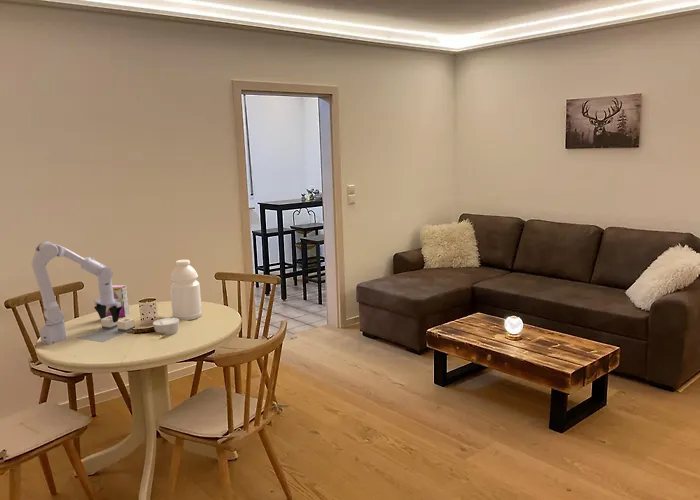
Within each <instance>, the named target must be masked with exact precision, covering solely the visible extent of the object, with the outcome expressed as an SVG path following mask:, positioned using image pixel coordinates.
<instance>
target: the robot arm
mask: <svg viewBox="0 0 700 500" xmlns="http://www.w3.org/2000/svg"><path fill="white" fill-rule="evenodd" d="M56 257H57V258H61V257H64V258H67V259H69V260H71V261H73V262H74V263H77V264H79V265H80V269H82V270H84V271H85V272H87V273H89V274H92V275H94V276H96V277H97V279H98V281H97V282H98V283H97V285H98V293H99V299H95V300H94V301H93V302H94V305H95V306H93V309H95V311H96V312H97V314H98V316H99V318H100V320H101V319H102V318H105V317H106V306H113V307H112V308H109V310H110V312H111V314H112V319H113V322H117V321H119V318H120V317H119V313H120V310H121V308H122V306H121V302H117V301H116V300H115V299H114V295H113V286H112V285H113V280H112V278H113V275H114V272H113V271H112V269H111V268H110V267H108V266H107V265H105V264H104V263H102V262H99V261H97V260H96V259H95V258H94V257H92V256H91V257H90V256H88V257H87V256H86V257H82V256H81V255H79V254H78V253H76V252H74V251H72V250H70V249H68V248H66V247H64V246H63V245H59V244H58V243H53V242H51V241H49V240H43V241H41V242H40V243H39V244H38V245H37V246H36V247H35V252H34V254H33V257H32V260H31V268H32V270H33V274H34V276H35V280H36V283H37V287H38V289H39V292H40V296H41V300H42V303H43V309H44V310H43V316H44V318H45V319H46V320H45V324H44V325H43V326H41V327H40V328H39V336H40V343H42V344H45V345H46V344H48V345H53V344H55V343H58V342H61V341H64V340H66V339H67V333H66V325H65V320H64V318H65V313H64V312H63V311H62V310H61V309H60V306H59V303H58V302H57V300H56V296H55V291H54V289H53V287H52V283H51V280H50V276H49V273H48V270H47V268H46V266H47V265H48V264H49V262H50V261H51V260H54V258H56Z"/></svg>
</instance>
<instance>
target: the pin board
mask: <svg viewBox="0 0 700 500" xmlns="http://www.w3.org/2000/svg"><path fill="white" fill-rule="evenodd" d="M132 331H133V330H131V331H128V332H122V331H118V327H116V328H114V329H111V330H108V329H102V327H101V328H98V329H97V330H94V331H91V332H89V333H86V334H83V335H80V336H78V337H76V339H80V340H87V341H91V342H92V341H93V342H99V343H105V342H107V341H109V340H112V339H115V338H117V337H119V336H121V335H124V334H127V333H129V332H132Z"/></svg>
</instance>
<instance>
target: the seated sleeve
mask: <svg viewBox="0 0 700 500" xmlns="http://www.w3.org/2000/svg"><path fill="white" fill-rule="evenodd" d="M117 327H118V331H122V332H127V333H129V332H132V331H133V330H132V329H133V328H135V327H136V324H135V319H134V318H129V317H123V318H122V319H118V321H117ZM131 330H132V331H131ZM128 331H129V332H128Z"/></svg>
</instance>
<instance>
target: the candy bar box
mask: <svg viewBox="0 0 700 500" xmlns="http://www.w3.org/2000/svg"><path fill="white" fill-rule="evenodd" d="M112 286H113V295H114V299H115V300H116V301H117V302H121V306H122V308H121V310H120V313H119V318H127V317H128V316H129V315H130V314H131V313H130V306H129V297H128V288H127V287H128V286H127V285H125V284H123V285H119V284H118V285H113V284H112ZM112 307H113V306H106V317H108V316H112V314H111V312H110V310H109V308H112Z"/></svg>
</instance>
